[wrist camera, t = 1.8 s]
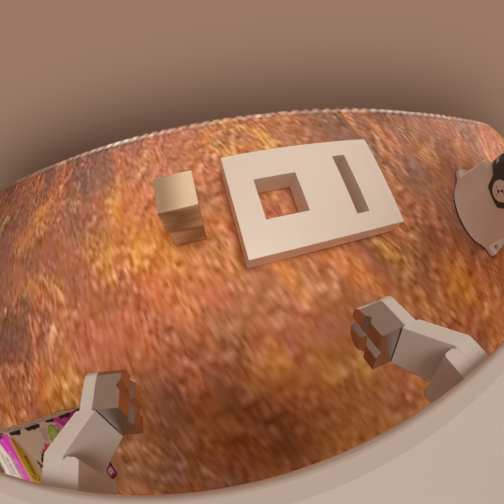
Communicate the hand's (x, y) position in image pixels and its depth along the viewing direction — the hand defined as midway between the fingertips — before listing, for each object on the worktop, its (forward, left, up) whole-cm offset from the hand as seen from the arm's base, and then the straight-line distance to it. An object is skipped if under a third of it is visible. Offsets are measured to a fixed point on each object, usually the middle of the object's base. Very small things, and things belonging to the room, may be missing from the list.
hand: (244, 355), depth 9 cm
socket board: (-15, -15, -24) cm, 32 cm away
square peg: (+2, -15, -24) cm, 29 cm away
